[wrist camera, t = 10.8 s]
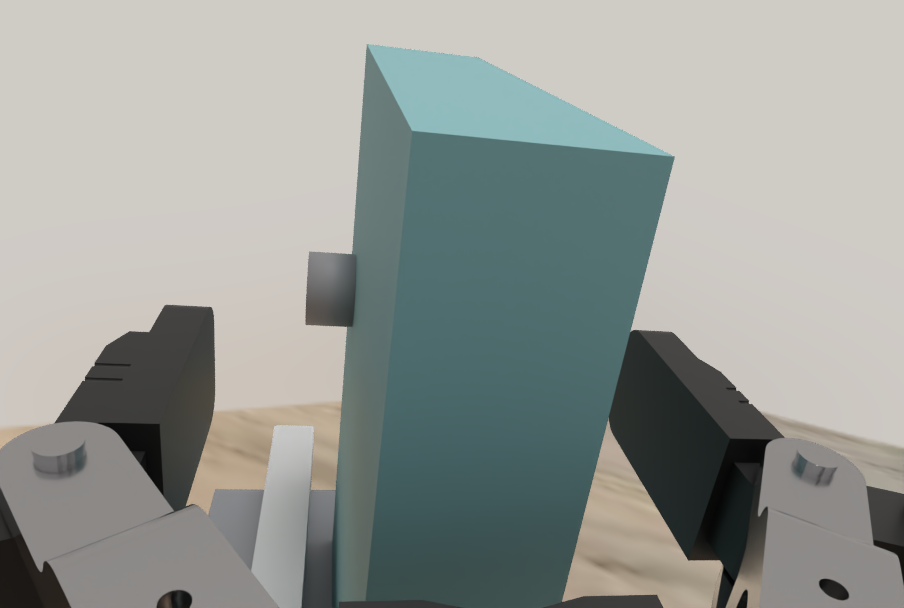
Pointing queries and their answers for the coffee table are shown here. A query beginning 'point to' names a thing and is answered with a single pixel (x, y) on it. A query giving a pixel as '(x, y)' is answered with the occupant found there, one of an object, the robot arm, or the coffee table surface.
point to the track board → (283, 524)
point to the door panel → (478, 329)
